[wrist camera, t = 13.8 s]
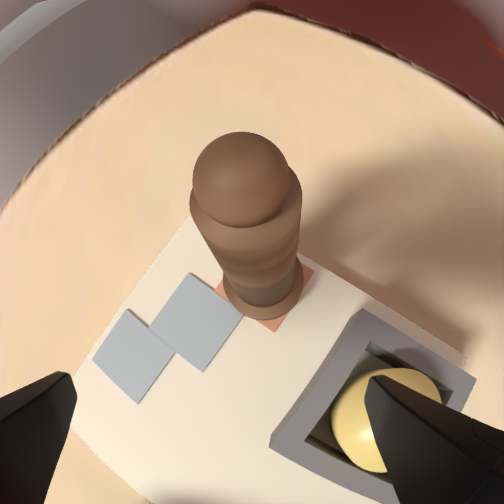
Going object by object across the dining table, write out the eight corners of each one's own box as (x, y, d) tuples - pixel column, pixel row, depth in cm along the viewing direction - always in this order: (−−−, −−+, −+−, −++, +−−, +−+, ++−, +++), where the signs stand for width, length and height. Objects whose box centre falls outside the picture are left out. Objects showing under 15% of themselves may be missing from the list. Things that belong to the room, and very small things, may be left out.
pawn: (318, 288, 19) (366, 161, 7) (256, 336, 19) (205, 275, 7) (271, 233, 21) (254, 74, 9) (211, 275, 20) (123, 149, 8)
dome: (427, 392, 16) (458, 395, 12) (380, 466, 14) (402, 486, 10) (361, 352, 17) (380, 348, 13) (310, 429, 16) (317, 445, 12)
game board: (459, 358, 18) (493, 352, 13) (296, 572, 12) (297, 604, 8) (207, 205, 24) (193, 172, 20) (63, 408, 19) (27, 409, 15)
